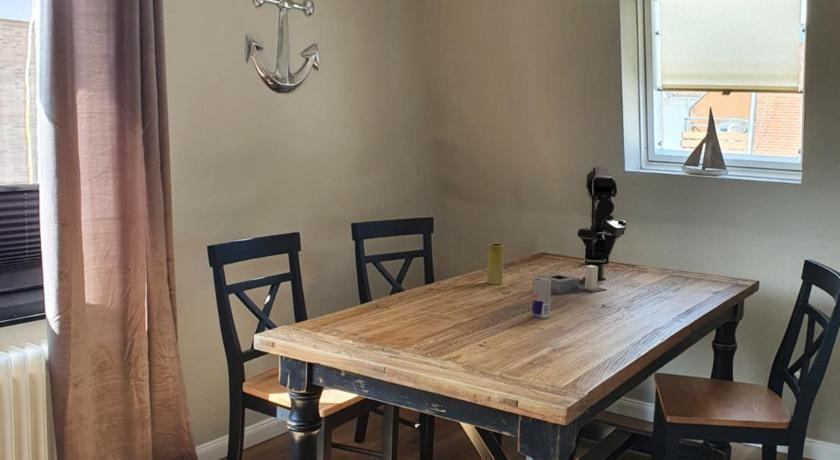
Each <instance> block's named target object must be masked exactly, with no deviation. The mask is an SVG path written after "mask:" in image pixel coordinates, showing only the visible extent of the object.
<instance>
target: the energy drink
mask: <svg viewBox="0 0 840 460" xmlns="http://www.w3.org/2000/svg"><path fill="white" fill-rule="evenodd" d="M532 282H533V284H532V285H533V286H532V309H531V311H532V312H531V315H532V317H533V318H535V319H540V320H541V319H549V317H550V315H551V314H550V311H551V293H552V292H551V280H550V278H547V277H540V276H536V277H534V278H533V281H532Z"/></svg>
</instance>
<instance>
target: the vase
mask: <svg viewBox="0 0 840 460" xmlns="http://www.w3.org/2000/svg"><path fill="white" fill-rule="evenodd" d="M486 274H487V275H486V276H487V279H486V284H488V285H493V286H498V285H503V284H504V244H503V243H499V242H498V243H496V242H494V243H493V242H492V243H489V244H488V255H487V273H486Z"/></svg>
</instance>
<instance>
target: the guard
mask: <svg viewBox="0 0 840 460" xmlns="http://www.w3.org/2000/svg"><path fill="white" fill-rule="evenodd" d="M539 277H547V278H550V280H551V293H553V294H556V295H563V294H569V293H574V292H579V291H580V290H579V287H580V277H575V276H571V275H566V274H562V273H553V274H547V275H542V276H539Z"/></svg>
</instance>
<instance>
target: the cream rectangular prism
mask: <svg viewBox="0 0 840 460" xmlns="http://www.w3.org/2000/svg"><path fill="white" fill-rule="evenodd" d="M584 275H585V276H584V277H585V279H584V280H585V281H584V286H585V288H586V289H590V290H593V289H597V287H598V281H597V277H598V266H593V265H589V266H585V274H584Z"/></svg>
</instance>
